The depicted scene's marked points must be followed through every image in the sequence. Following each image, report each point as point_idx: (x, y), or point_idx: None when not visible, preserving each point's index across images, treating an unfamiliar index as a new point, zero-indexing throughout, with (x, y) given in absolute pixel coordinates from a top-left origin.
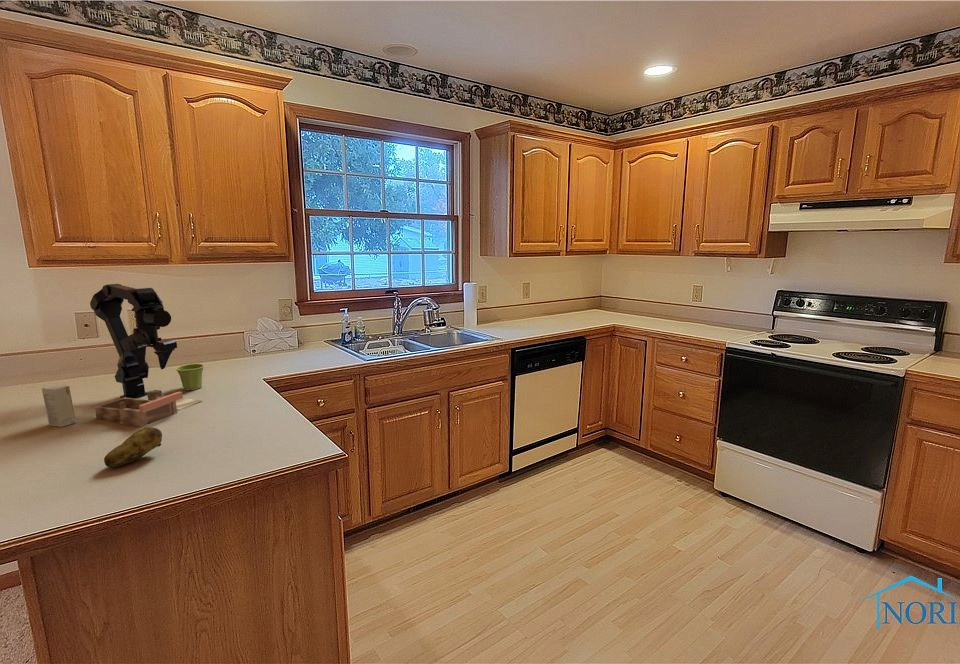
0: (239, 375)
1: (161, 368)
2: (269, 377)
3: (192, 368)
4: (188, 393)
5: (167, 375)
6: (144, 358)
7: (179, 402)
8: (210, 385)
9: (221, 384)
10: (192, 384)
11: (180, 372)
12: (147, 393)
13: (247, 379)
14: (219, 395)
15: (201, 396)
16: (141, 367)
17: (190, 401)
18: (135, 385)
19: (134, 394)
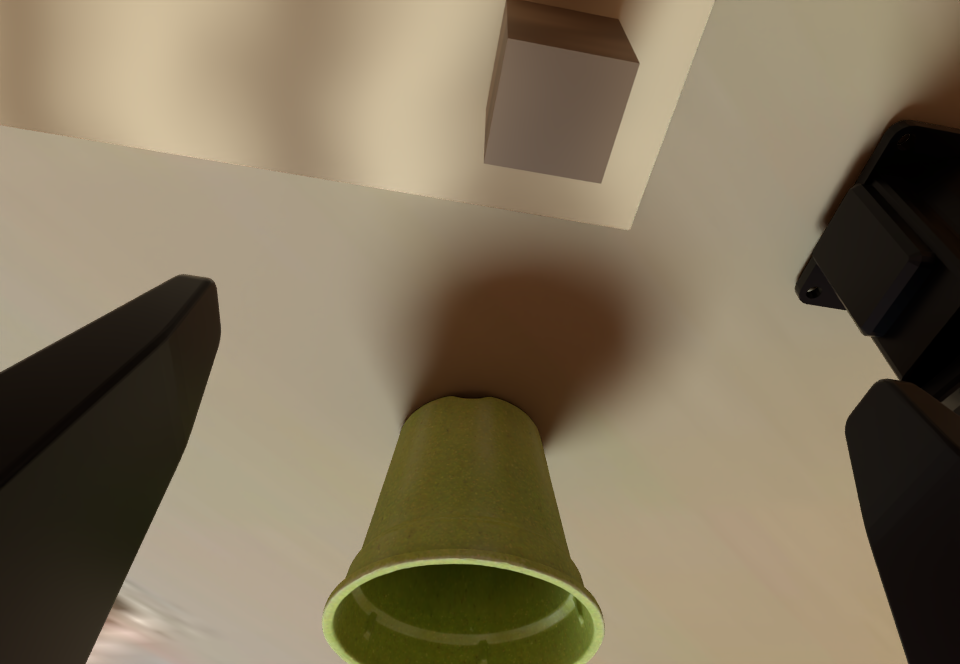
0: None
1: (168, 281)
2: (111, 620)
3: (513, 638)
4: (396, 331)
5: (869, 624)
6: (919, 648)
7: (183, 27)
8: (377, 495)
9: (309, 514)
10: (413, 442)
11: (493, 538)
12: (632, 55)
13: (219, 591)
14: (43, 305)
15: (187, 268)
16: (879, 381)
17: (90, 79)
18: (942, 256)
19: (912, 187)
